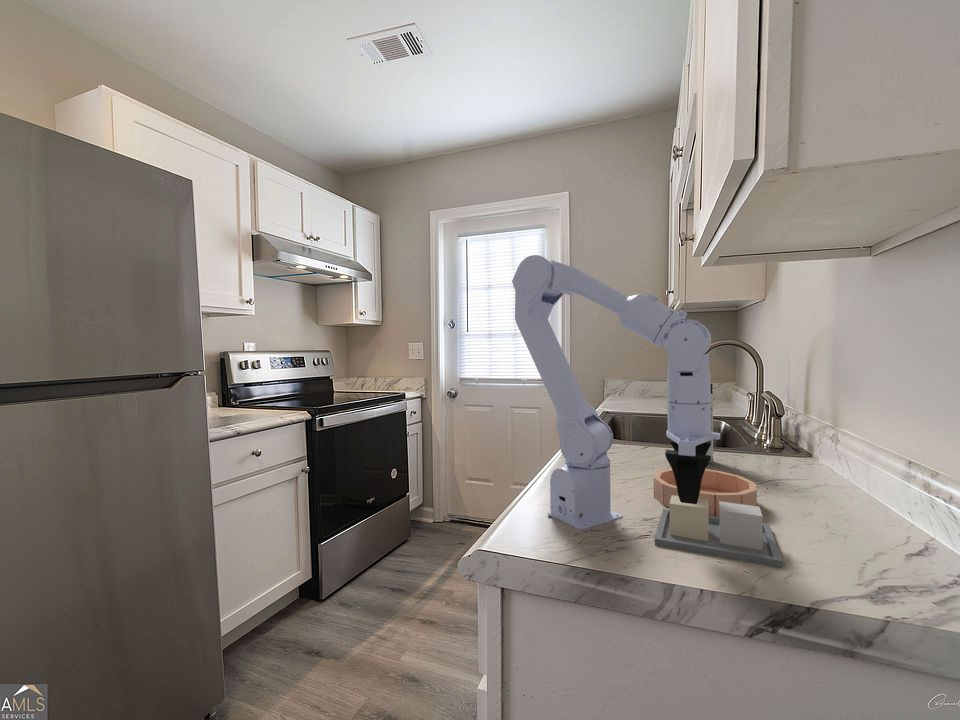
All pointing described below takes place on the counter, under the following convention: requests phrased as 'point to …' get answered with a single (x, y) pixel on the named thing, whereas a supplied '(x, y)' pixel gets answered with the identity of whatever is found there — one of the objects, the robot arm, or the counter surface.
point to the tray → (715, 547)
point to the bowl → (709, 489)
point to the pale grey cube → (741, 525)
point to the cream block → (689, 519)
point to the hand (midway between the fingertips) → (689, 494)
